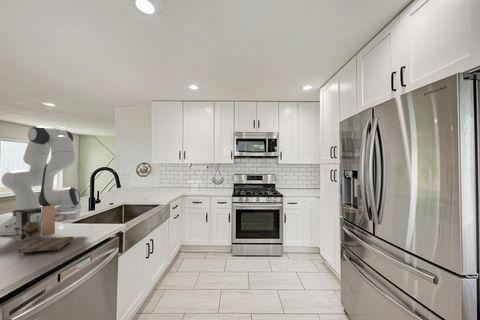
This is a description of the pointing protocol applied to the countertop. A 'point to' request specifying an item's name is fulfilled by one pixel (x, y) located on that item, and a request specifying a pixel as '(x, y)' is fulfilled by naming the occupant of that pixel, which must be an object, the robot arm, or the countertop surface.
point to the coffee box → (27, 225)
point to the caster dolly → (45, 245)
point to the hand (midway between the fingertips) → (47, 219)
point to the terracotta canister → (48, 220)
